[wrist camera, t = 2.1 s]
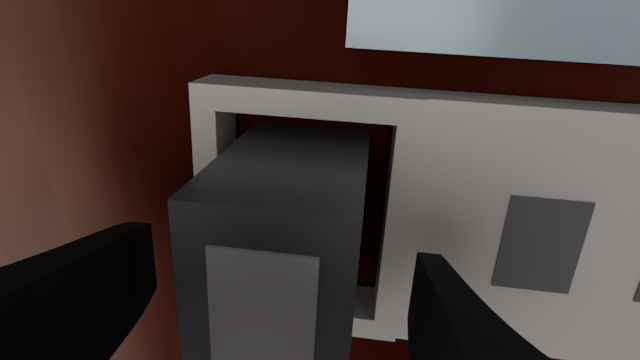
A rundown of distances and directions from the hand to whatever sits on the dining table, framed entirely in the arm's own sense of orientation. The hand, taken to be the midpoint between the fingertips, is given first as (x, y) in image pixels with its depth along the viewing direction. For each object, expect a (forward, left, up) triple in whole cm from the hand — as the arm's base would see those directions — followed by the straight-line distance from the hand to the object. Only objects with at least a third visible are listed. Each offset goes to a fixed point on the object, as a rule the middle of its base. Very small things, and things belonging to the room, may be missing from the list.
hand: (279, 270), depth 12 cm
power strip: (-5, 0, -5) cm, 7 cm away
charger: (0, 0, -5) cm, 5 cm away
